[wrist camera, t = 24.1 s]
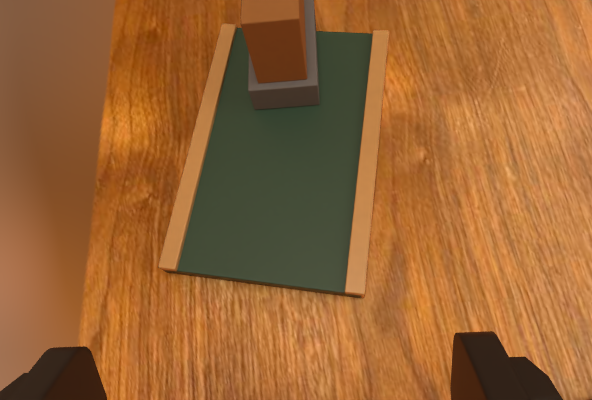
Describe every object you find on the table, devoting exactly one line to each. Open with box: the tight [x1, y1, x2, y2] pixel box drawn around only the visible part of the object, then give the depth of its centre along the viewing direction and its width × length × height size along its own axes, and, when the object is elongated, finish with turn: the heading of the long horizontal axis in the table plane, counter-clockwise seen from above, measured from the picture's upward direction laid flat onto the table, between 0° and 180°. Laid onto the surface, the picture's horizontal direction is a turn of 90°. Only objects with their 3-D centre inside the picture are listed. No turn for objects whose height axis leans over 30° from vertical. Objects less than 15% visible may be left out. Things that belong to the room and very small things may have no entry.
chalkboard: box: [158, 24, 389, 298], centre depth 32 cm, size 13×20×1 cm, turn 172°
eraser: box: [241, 0, 320, 110], centre depth 30 cm, size 8×5×8 cm, turn 1°
